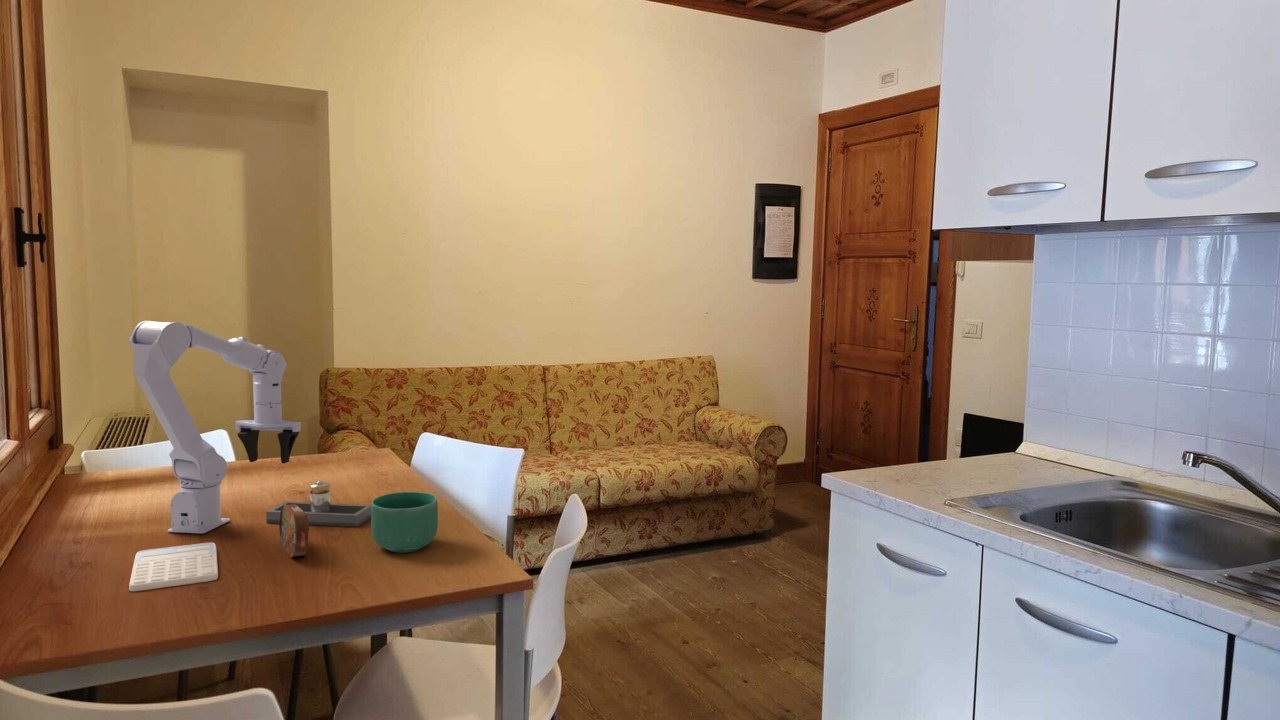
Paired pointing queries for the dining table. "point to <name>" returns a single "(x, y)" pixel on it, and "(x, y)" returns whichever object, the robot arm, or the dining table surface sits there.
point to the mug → (404, 520)
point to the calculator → (174, 566)
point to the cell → (320, 497)
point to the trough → (327, 514)
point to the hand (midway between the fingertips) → (269, 461)
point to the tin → (294, 530)
